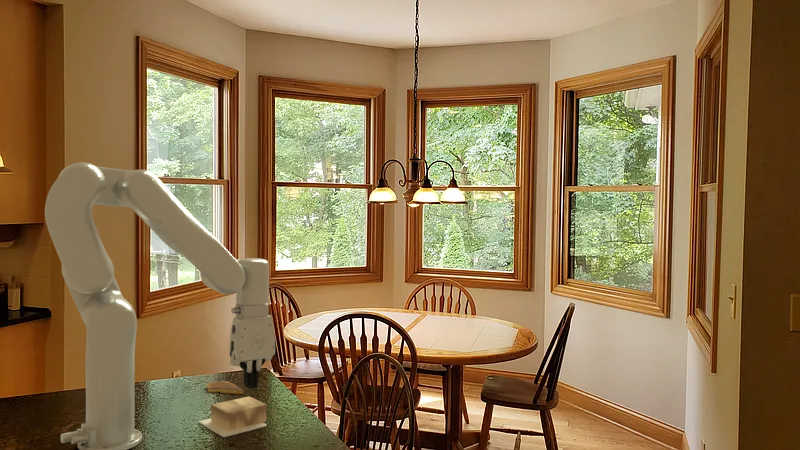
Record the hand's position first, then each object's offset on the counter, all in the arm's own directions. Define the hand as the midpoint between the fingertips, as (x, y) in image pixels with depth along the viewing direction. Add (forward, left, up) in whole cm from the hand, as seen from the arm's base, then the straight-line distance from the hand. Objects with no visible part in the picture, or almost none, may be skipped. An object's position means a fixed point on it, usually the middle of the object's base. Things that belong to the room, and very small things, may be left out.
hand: (251, 387), depth 156 cm
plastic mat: (-5, 0, -8) cm, 9 cm away
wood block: (+2, 0, -6) cm, 6 cm away
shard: (+8, +26, -9) cm, 29 cm away
